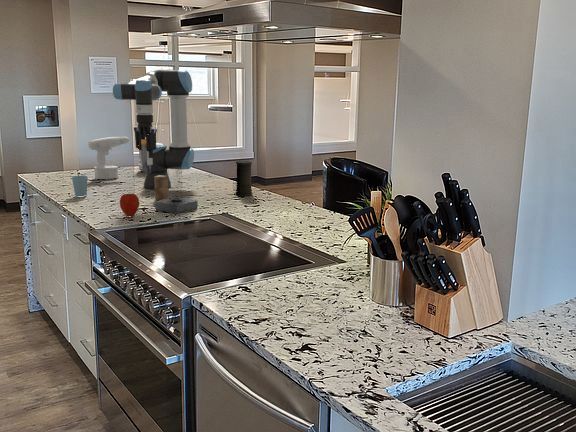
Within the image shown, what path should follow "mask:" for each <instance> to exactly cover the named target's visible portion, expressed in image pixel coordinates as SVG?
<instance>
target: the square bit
mask: <svg viewBox="0 0 576 432" xmlns="http://www.w3.org/2000/svg"><path fill="white" fill-rule="evenodd" d="M168 176H169V175H168ZM168 176H165V175H158V176H154V185H155V189H154V200H155V199H156V200H155V201H160V200H165V199H169V198H170V197H169V192H170V191H169V188H168Z"/></svg>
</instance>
